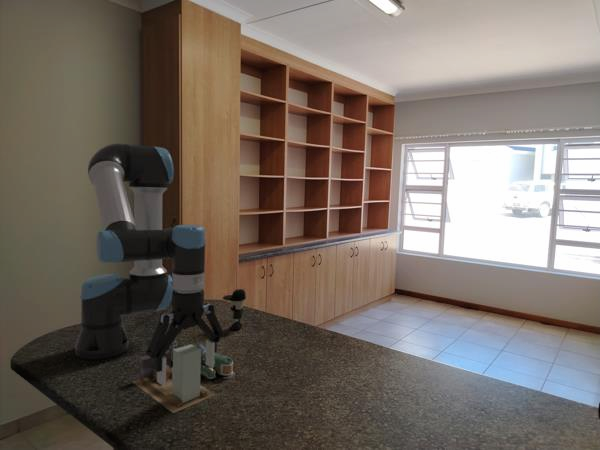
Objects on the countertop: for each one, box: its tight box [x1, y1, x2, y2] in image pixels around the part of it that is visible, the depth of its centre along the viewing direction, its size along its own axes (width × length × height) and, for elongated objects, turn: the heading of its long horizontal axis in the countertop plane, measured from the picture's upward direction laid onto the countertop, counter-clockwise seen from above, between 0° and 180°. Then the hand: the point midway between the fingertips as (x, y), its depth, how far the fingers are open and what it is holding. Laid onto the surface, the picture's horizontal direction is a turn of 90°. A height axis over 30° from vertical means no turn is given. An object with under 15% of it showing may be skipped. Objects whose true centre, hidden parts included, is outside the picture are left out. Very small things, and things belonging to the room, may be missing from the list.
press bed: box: [132, 350, 217, 414], centre depth 104 cm, size 20×12×7 cm, turn 48°
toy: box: [222, 288, 247, 331], centre depth 151 cm, size 8×8×15 cm
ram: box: [171, 343, 201, 403], centre depth 100 cm, size 5×5×12 cm
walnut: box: [153, 365, 171, 380], centre depth 108 cm, size 4×4×4 cm
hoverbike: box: [168, 340, 236, 380], centre depth 117 cm, size 10×25×8 cm, turn 65°
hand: (186, 374), depth 100 cm, fingers open, 13 cm apart
